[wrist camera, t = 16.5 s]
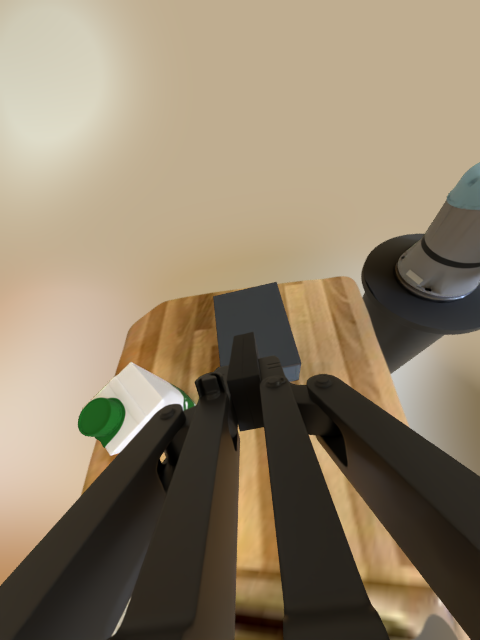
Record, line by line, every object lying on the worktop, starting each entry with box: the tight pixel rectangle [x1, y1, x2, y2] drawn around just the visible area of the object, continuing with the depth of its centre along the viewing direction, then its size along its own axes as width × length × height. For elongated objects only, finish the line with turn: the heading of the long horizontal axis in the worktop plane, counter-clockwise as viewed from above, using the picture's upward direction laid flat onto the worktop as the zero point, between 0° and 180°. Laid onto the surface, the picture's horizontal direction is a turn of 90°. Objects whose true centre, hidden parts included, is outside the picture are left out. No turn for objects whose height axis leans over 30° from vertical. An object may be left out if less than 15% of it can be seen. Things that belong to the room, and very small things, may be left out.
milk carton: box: [78, 362, 196, 455], centre depth 34 cm, size 9×9×20 cm
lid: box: [213, 282, 301, 368], centre depth 39 cm, size 17×13×1 cm
